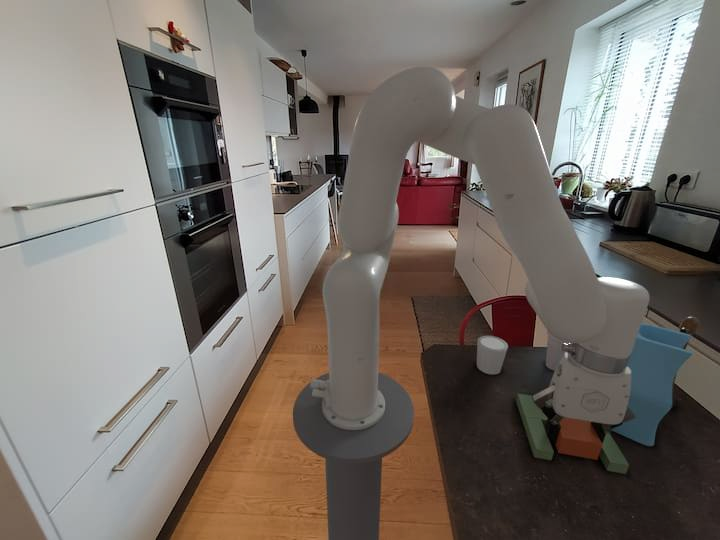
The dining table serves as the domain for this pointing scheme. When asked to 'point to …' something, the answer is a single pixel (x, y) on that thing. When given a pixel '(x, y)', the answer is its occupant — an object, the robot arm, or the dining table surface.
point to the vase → (652, 379)
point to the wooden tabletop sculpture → (687, 327)
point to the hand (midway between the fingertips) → (571, 439)
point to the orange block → (578, 439)
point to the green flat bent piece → (542, 446)
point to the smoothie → (553, 351)
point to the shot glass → (490, 354)
